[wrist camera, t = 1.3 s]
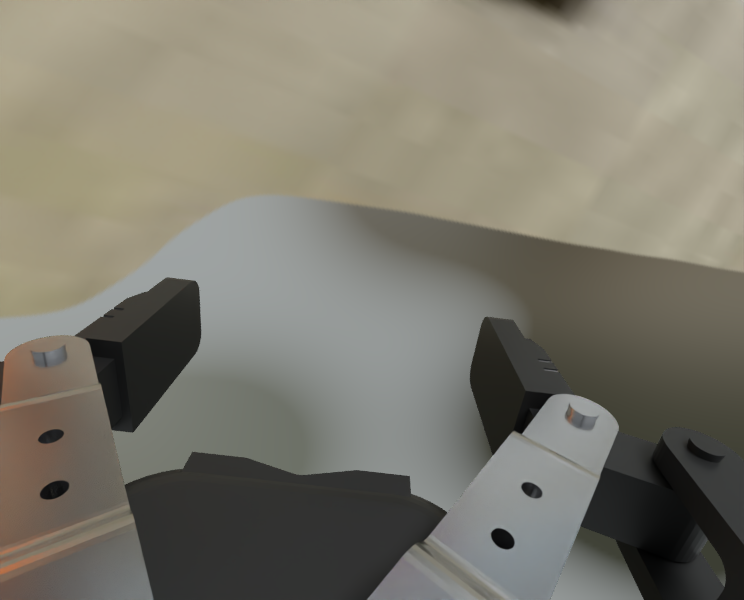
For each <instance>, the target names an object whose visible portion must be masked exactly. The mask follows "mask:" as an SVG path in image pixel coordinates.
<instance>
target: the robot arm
mask: <svg viewBox="0 0 744 600" xmlns="http://www.w3.org/2000/svg"><path fill="white" fill-rule="evenodd" d="M200 339H201V319H200V296H199V287H198V284H197V282H196V281H191V280H183V279H176V278H165V279H164V280H162V281H161V282H160V283H158V284H157V285H156V286H154V287H153V288H152V289H150V290H149V291H148V292H144V293H141V294H138V295H135V296H133V297H130V298H127V299H125V300H124V301H123V302H121V303H120V304H118V305H117V306H116V307H114V310H113V309H112V310H110V311H109V312H107V313H106V314H104V317H100V318H99V319H97V320H96V321H95V322H93V323H92V324H90V325H89V326H88V327H86V328H85V329H84V330H82V331H81V332H80V333H78V334H76V335H75V336H68V335H67V336H64V335H60V336H49V337H44V338H39V339H35V340H32V341H29V342H26V343H24V344H21V345H19V346H17V347H15V348H14V349H12V350H11V351H10V352H9V353H8V354H7V355H6V357H5V360H4V361H3V362H0V600H550V599H551V597H552V594H553V592H554V589H555V587H556V584H557V582H558V579H559V577H560V575H561V572H562V569H563V567H564V565H565V562H566V560H567V557H568V555H569V552H570V550H571V548H572V545H573V543H574V540H575V538H576V535H577V533H578V530H579V528H580V526H582V527H584V528H587V529H589V530H592V531H595V532H597V533H600V534H602V535H605V536H608V537H610V538H613V539H615V540H616V542H617V544H618V547H619V549H620V551H621V553H622V555H623V557H624V559H625V561H626V563H627V565H628V567H629V570H630V572H631V574H632V576H633V578H634V580H635V582H636V584H637V586H638V588H639V590H640V593H641V595H642V597H643V599H644V600H744V460H743V459H742V458H741V457H739V455H737V454H736V453H735V452H734V451H733V450H731V449H730V448H729V447H727V446H726V445H724V444H723V443H721V442H719V441H718V440H716V439H714V438H712V437H710V436H708V435H705V434H703V433H700V432H697V431H694V430H691V429H686V428H680V427H672V428H668V429H666V430H665V431H664V432H663V434H662V436H661V438H660V440H659V442H658V444H656V443H652V442H649V441H646V440H643V439H639V438H636V437H633V436H630V435H626V434H624V433H621V432H618V429H619V427H618V423H617V421H616V420H615V418H614V417H613V416H612V415H611V414H610V413H609V412H608V411H607V410H606V409H604V408H603V407H601V406H600V405H598V404H596V403H595V402H592V401H590V400H588V399H586V398H583V397H580V396H575V395H574V393H573V392H572V390H571V389H570V387H569V386H568V384H567V383H566V381H565V380H564V378H563V377H562V375H561V374H560V372H557V368H556V366H555V365H554V363H552V362H551V359H550V358H549V356H548V355H547V353H546V352H545V350H544V349H543V348H541V347H540V346H539V345H537V344H536V343H535V342H533V341H532V340H531V339H525V338H524V336H523V335H522V333H521V332H520V330H519V329H518V327H517V325H516V324H515V322H514V321H513V320H509V319H500V318H492V317H485V318H484V320H483V322H482V325H481V328H480V333H479V337H478V340H477V344H476V348H475V352H474V356H473V361H472V364H471V370H470V384H471V389H472V392H473V395H474V398H475V401H476V404H477V408H478V411H479V414H480V417H481V420H482V423H483V426H484V430H485V433H486V436H487V439H488V442H489V445H490V448H491V452H492V455H493V457H492V458H491V459H490V460H489V462H488V463H487V464H486V465H485V467H484V468H483V469H482V470H481V471H480V473H479V474H478V475H477V476H476V478H475V479H474V480H473V481H472V483H471V484H470V485H469V486H468V488H467V489H466V490H465V491H464V493H463V494H462V495H461V496H460V498H459V499H458V500H457V502H456V503H455V504H454V505H453V507H452V508H451V509H450V510H449V512H448V513H447V512H446V511H445V510H443V509H442V508H440V507H438V506H437V505H435V504H433V503H431V502H429V501H427V500H425V499H423V498H421V497H418V496H415V495H413V494H411V489H410V476H402V475H394V474H385V473H376V472H368V471H359V470H354V471H344V472H333V473H322V474H311V475H296V474H292V473H289V472H286V471H284V470H281V469H278V468H275V467H272V466H269V465H266V464H263V463H260V462H256V461H254V460H251V459H248V458H243V457H233V456H225V455H216V454H205V453H197V452H192V454H191V456H190V457H189V459H188V461H187V463H186V464H185V466H184V468H183V469H177V470H171V471H166V472H161V473H157V474H153V475H150V476H146V477H143V478H141V479H138V480H135V481H133V482H130V483H128V484H126V485H124V481H123V477H122V473H121V468H120V464H119V459H118V455H117V451H116V447H115V442H114V438H113V434H112V430H115V431H125V432H134V431H135V430H136V428H137V427H138V426H139V425H140V423H141V422H142V421H143V420H144V418H145V417H146V416H147V414H148V413H149V412H150V411H151V409H152V408H153V407H154V406H155V404H156V403H157V402H158V401H159V399H160V398H161V397H162V395H163V394H164V393H165V392H166V390H167V389H168V388H169V386H170V385H171V384H172V383H173V382H174V380H175V379H176V378H177V376H178V375H179V374H180V373H181V371H182V370H183V369H184V367H185V366H186V365H187V364H188V363H189V361H190V360H191V359H192V357H193V356H194V355H195V354H196V352H197V350H198V347H199V344H200ZM707 540H709V541H710V543H711V544H712V546H713V547H714V548H715V550H716V551H717V553H718V554H719V556H720V558H721V559H722V562H723V565H724V568H725V574H726V583H725V587H724V586H723V585H722V583H721V582H720V580H719V579H718V577H717V576H716V574H715V573H714V571H713V570H712V568H711V567H710V565H709V564H708V562H707V561H706V559H705V558H704V556H703V555H702V553H701V552H700V551H701V550H702V548H703V546H704V545H705V543H706V541H707Z"/></svg>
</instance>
